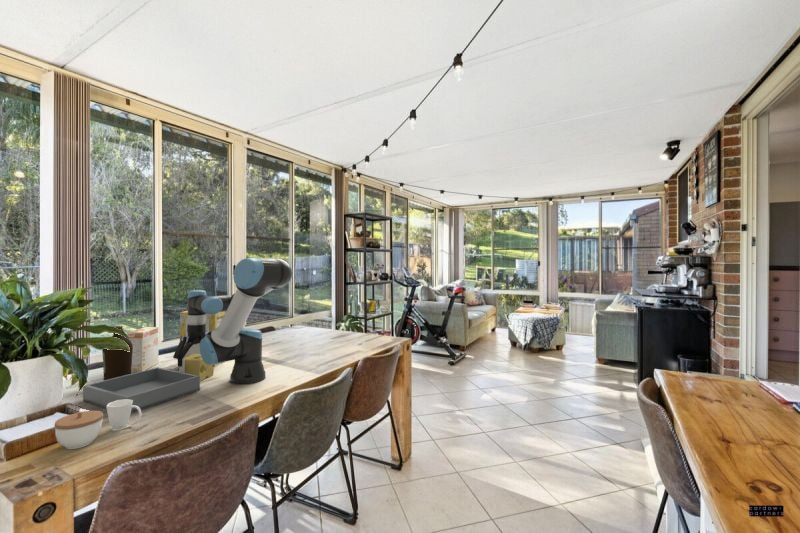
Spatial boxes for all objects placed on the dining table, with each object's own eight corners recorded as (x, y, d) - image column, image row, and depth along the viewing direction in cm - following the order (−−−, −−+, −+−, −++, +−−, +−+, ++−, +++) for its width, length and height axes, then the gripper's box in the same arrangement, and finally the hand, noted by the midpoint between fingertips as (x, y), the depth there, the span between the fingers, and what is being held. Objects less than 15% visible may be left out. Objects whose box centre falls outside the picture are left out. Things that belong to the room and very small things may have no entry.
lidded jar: (45, 448, 104) (46, 416, 104) (89, 432, 114) (89, 403, 114) (68, 456, 100) (68, 422, 100) (111, 439, 110) (111, 408, 110)
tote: (199, 390, 153) (199, 375, 153) (126, 414, 128) (126, 397, 127) (157, 380, 165) (157, 367, 165) (83, 401, 139) (83, 385, 139)
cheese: (213, 375, 174) (214, 354, 173) (199, 382, 163) (199, 360, 163) (193, 374, 175) (193, 353, 175) (177, 381, 164) (177, 359, 164)
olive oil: (135, 378, 168) (135, 323, 167) (129, 385, 158) (129, 327, 158) (106, 380, 163) (106, 325, 163) (98, 388, 153) (99, 329, 153)
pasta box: (179, 366, 187) (180, 312, 186) (191, 361, 197) (192, 309, 197) (214, 367, 186) (215, 312, 186) (225, 361, 197) (225, 310, 197)
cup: (115, 423, 121) (116, 399, 121) (147, 422, 122) (147, 398, 122) (100, 432, 114) (100, 407, 114) (133, 432, 115) (134, 406, 115)
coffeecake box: (144, 363, 191) (145, 326, 191) (159, 363, 191) (159, 326, 191) (126, 372, 176) (126, 332, 176) (142, 372, 177) (142, 332, 176)
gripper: (214, 319, 181) (213, 361, 182) (164, 327, 159) (163, 375, 159) (225, 320, 178) (224, 363, 179) (175, 328, 156) (174, 378, 156)
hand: (195, 369), depth 169 cm, fingers open, 13 cm apart
